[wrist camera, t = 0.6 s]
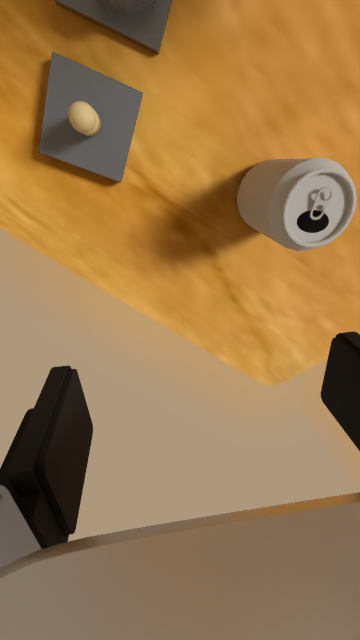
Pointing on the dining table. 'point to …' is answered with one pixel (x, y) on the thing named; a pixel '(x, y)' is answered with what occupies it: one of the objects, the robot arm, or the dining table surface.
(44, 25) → the dining table surface
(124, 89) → the square base with peg
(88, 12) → the stand
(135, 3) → the collar
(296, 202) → the can
